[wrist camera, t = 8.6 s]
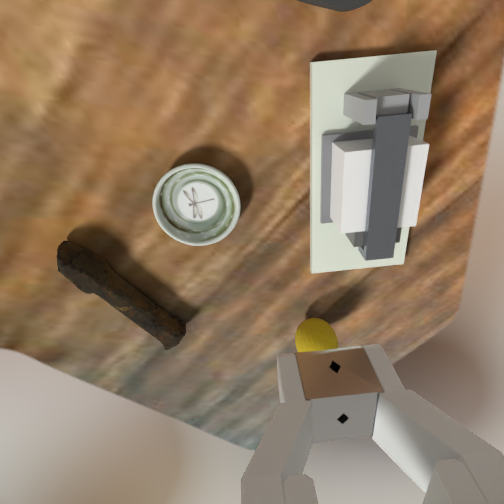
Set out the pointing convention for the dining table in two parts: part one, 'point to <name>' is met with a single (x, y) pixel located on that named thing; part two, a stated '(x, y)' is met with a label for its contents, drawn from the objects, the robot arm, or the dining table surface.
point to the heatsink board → (332, 121)
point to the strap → (385, 184)
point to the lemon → (315, 336)
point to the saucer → (196, 204)
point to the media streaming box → (338, 4)
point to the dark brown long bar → (117, 293)
